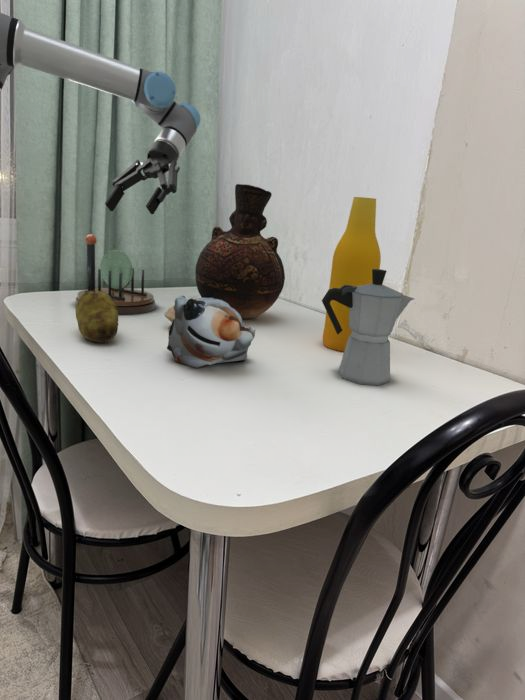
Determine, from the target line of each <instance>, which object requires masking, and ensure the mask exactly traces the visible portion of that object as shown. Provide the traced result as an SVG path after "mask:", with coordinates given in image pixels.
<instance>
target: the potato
mask: <svg viewBox="0 0 525 700" xmlns="http://www.w3.org/2000/svg"><path fill="white" fill-rule="evenodd" d="M75 318H76V322H77V325H78V331H79V333H81V335H82V336H83V337H84V338H85V339H86V340H89V341H91V342H94V343H95V342H96V343H101V344H104V343H107V342H109V341H111V340H113V339H114V338H115V337H116V336H117V334H118V329H119V315H118V308H117V306H116V304H115V303H114V302H113V301H112V298H111V297H110V295H108V294H107V293H104V292H102V291H88V292H86V293H84V294H83V295H82V296H81V297H80V298H79V300H78V302H77V305H76V304H75Z"/></svg>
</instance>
